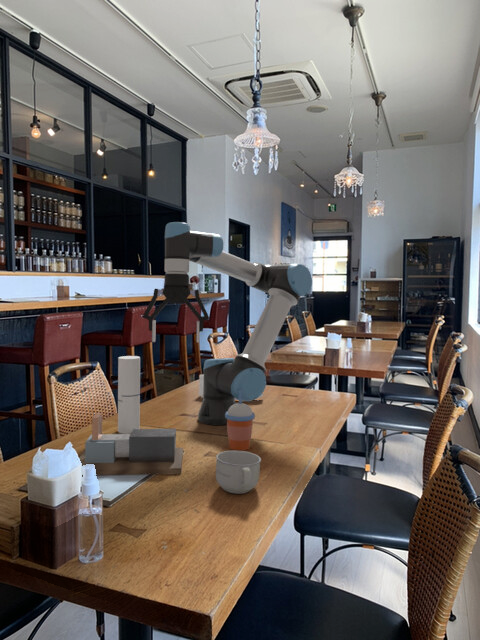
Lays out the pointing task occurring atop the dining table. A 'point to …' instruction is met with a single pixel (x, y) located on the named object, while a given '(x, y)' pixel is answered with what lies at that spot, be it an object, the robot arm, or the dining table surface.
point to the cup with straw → (239, 425)
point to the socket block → (99, 452)
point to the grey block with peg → (110, 437)
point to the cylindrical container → (128, 394)
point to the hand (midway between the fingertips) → (175, 341)
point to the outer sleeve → (152, 445)
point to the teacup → (237, 471)
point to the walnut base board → (137, 466)
